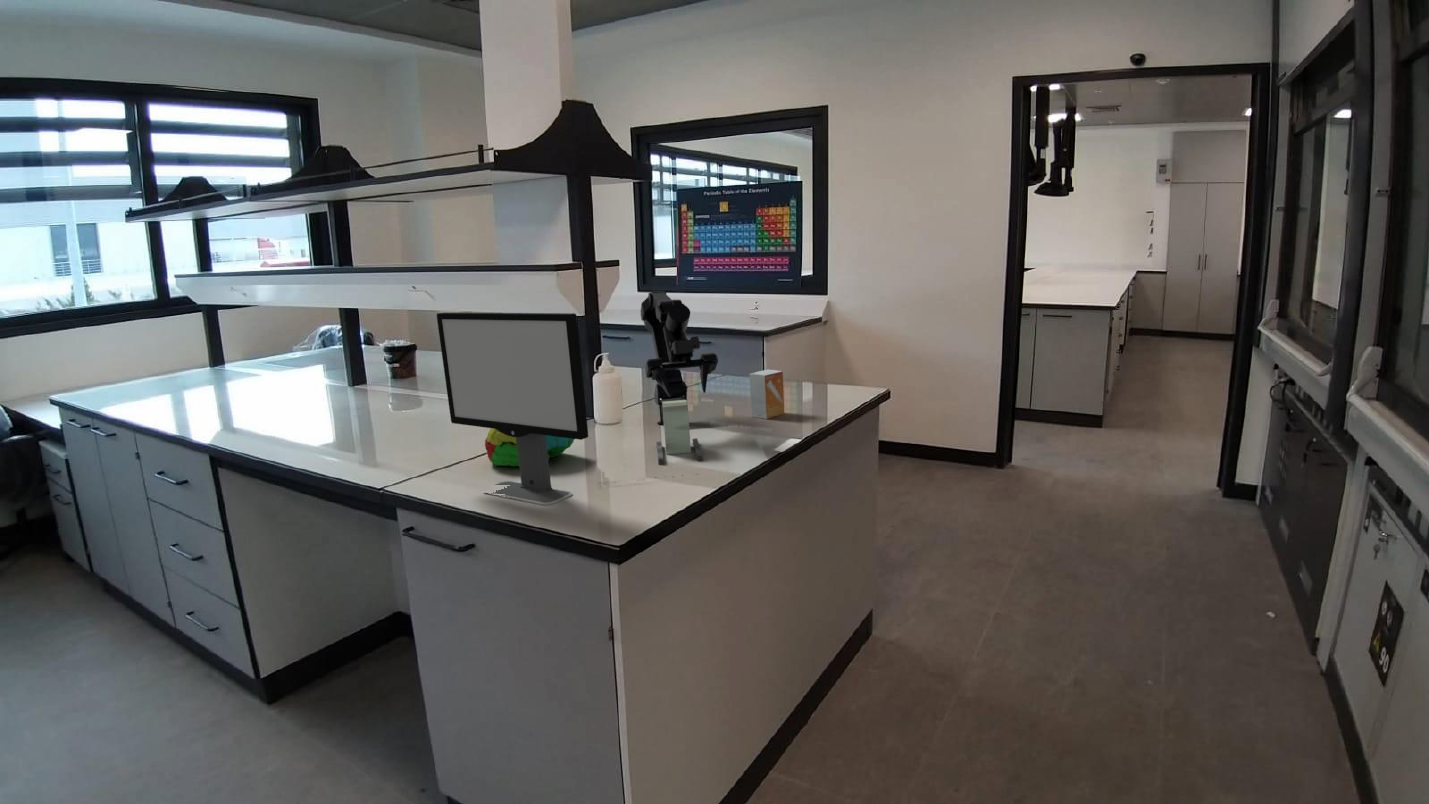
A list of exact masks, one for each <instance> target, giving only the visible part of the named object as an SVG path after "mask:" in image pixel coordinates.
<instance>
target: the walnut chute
mask: <svg viewBox="0 0 1429 804" xmlns="http://www.w3.org/2000/svg"><path fill="white" fill-rule="evenodd" d="M698 440H699V439H698V437H696V438H692V440H691V441H692V445H693V449H694V453H695V456H696V461H697V462H703V460H704V459H703V453H702V450H701V447H700V443H699V441H698ZM662 446H663V445H662V441H656V449H657V450H656V452H657V460H658V466H661V465H664V454H663V447H662Z"/></svg>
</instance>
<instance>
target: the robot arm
mask: <svg viewBox="0 0 1429 804" xmlns="http://www.w3.org/2000/svg"><path fill="white" fill-rule="evenodd" d="M690 317H691V309H690V308H689V306H687V305H685V303H683V301H682V300H681V299H672V298H671V297H670V296H669V295H667V291H664V290H658V291H650V292H648V295H647V298H645V299H644V300H643V301H642V302H641V306H640V318H641V321H642V322H643V324H644V328H645V329H646V330H647V331H648V332H649V333H650V334H651V336H652V341H653V348H654V351H655V355H656V356H655V357H656V358H649V359H647V360H646V362H645V363H646V364H645V368H644V370H645V376H646V377H645V378H648V379H649V378H651V380H652V381H656V384H655V389H654V395H653V396H654V402H655V405H657V406H658V407H659V408H658V409H659V417H660V418H659V420H660V421H657V423H656V424H657V425H663V426H664V419H663V406H662V402H665V401H677V400H686V401H688V397H687V396H688V385H687V384H686V381H684V380H683V375H682V371H681V370H680V369H689V368H697V367H699V370H700V373H699V376H700V382H701V389H702V391H703V394H705V393H706V391H707V390H706V389H707V382H708V376H709V375H711V374H712V372H714V371H716V368H717V365H718V363H719V359H718V355H717V354H716V353H715V352H709V353H701V355H700V358H698V359H692V358H694V357H693V356H694V352H695V350H699V349H700V348H701V343H700V338H699V336H691V337H690V339H688V338H687V333H686V331H687V328H688V326H689V325H688V324H689V321H690Z"/></svg>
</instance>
